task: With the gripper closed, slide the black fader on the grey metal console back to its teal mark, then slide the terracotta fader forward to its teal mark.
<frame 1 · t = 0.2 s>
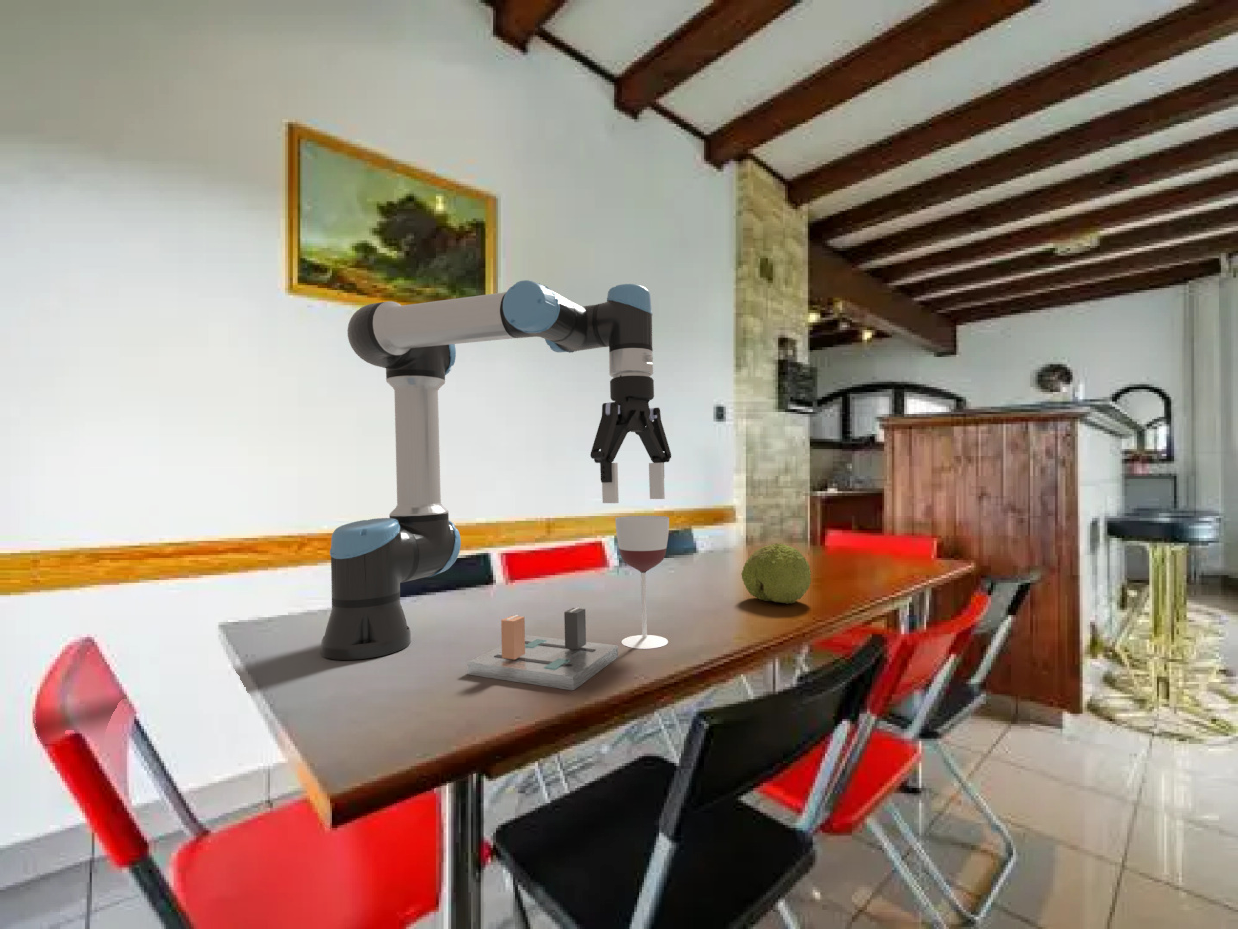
hand: (635, 501, 99), 27 cm above the table, fingers open, 13 cm apart
console: (545, 665, 95), on the table
wineglass: (644, 642, 107), on the table
fader black: (575, 627, 97), point 6 cm above the table, slide at 3.5 cm
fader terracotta: (513, 636, 92), point 6 cm above the table, slide at -3.5 cm
fruit: (777, 602, 137), on the table
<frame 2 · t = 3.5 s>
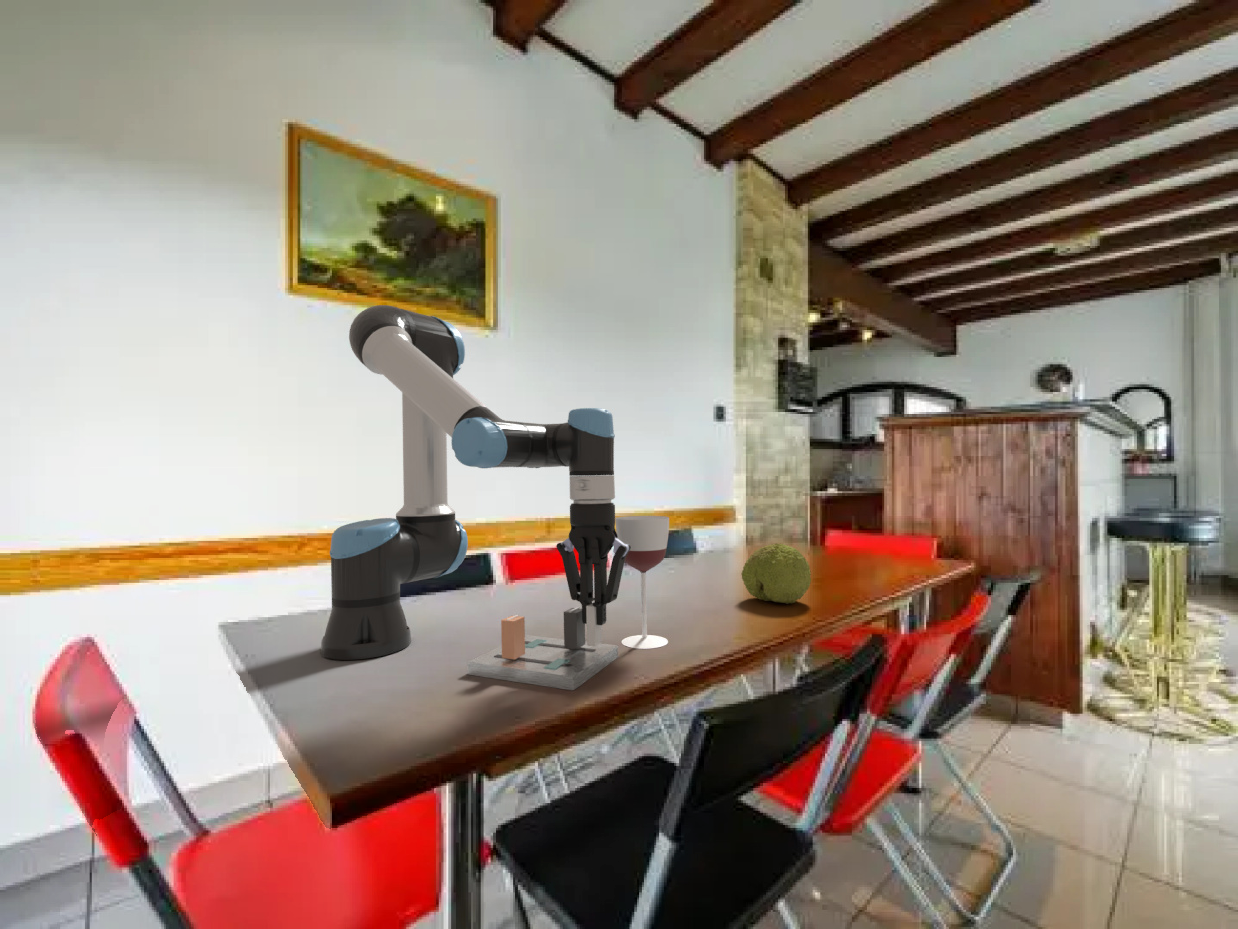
hand: (594, 643, 95), 3 cm above the table, fingers closed
fader black: (574, 627, 97), point 6 cm above the table, slide at 3.3 cm, touching gripper
everything else where it was.
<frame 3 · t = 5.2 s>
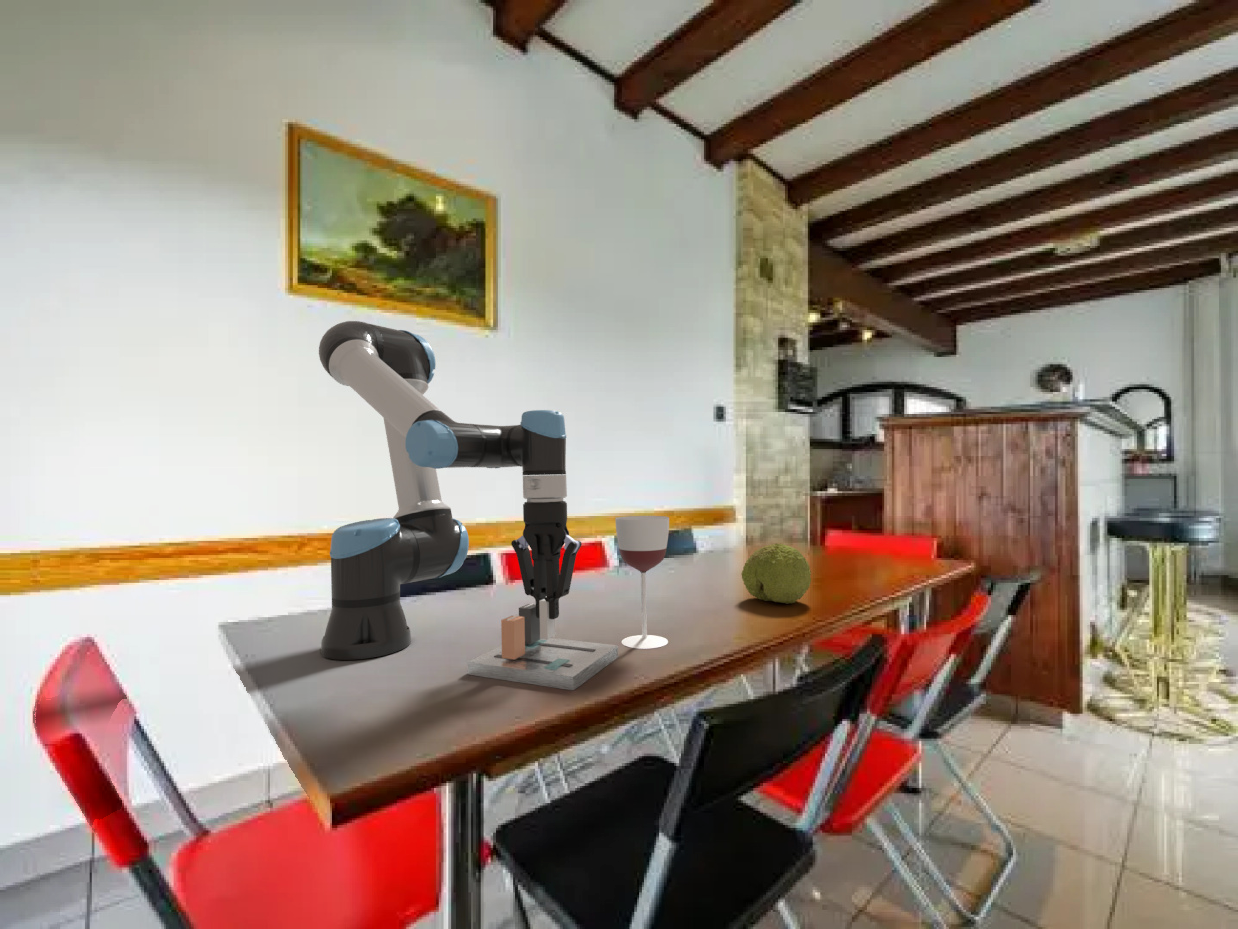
hand: (547, 637, 99), 3 cm above the table, fingers closed
fader black: (529, 623, 101), point 6 cm above the table, slide at -5.5 cm, touching gripper
everything else where it was.
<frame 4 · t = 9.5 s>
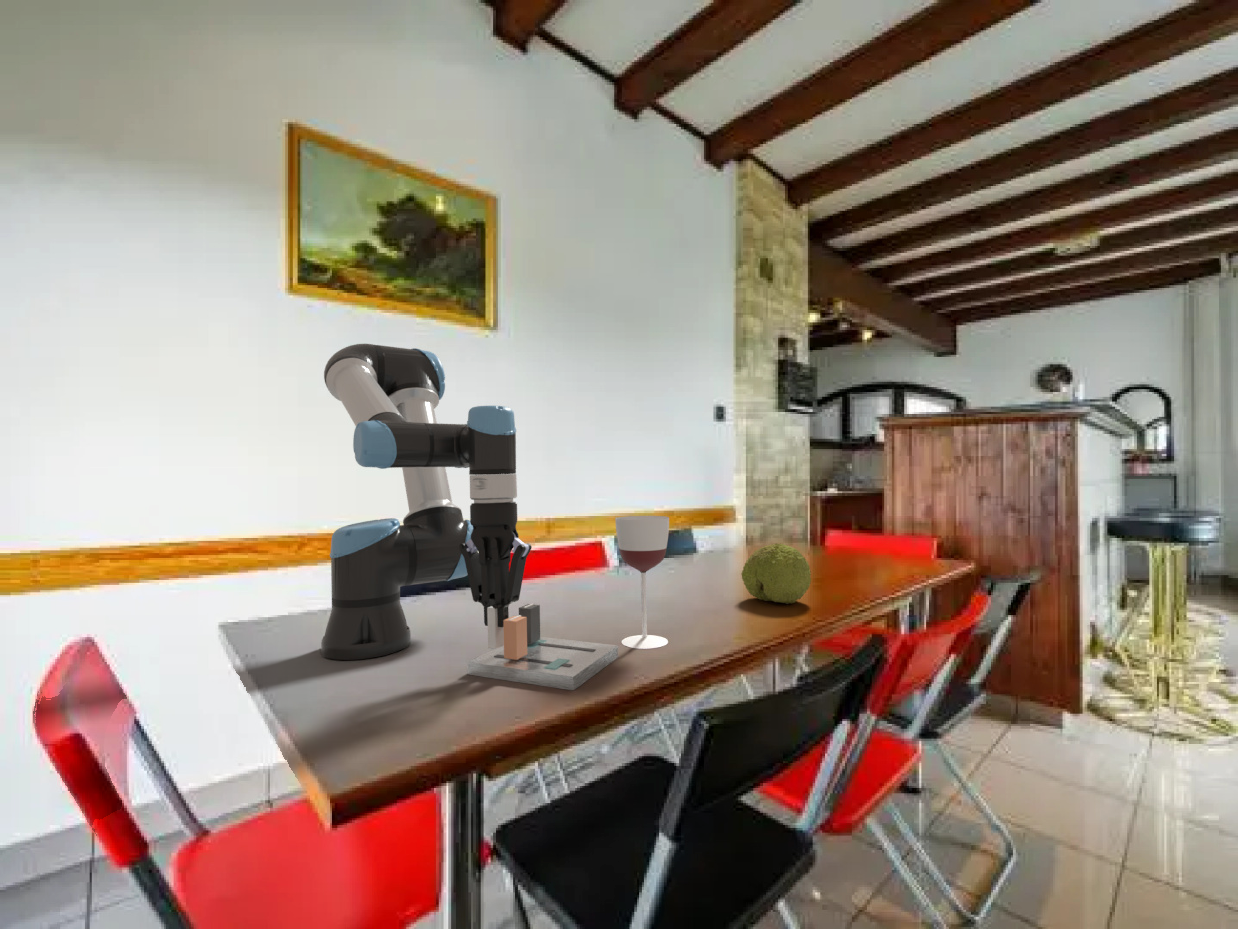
hand: (497, 646, 93), 4 cm above the table, fingers closed
fader black: (529, 623, 101), point 6 cm above the table, slide at -5.5 cm
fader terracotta: (515, 636, 92), point 6 cm above the table, slide at -3.1 cm, touching gripper
everything else where it was.
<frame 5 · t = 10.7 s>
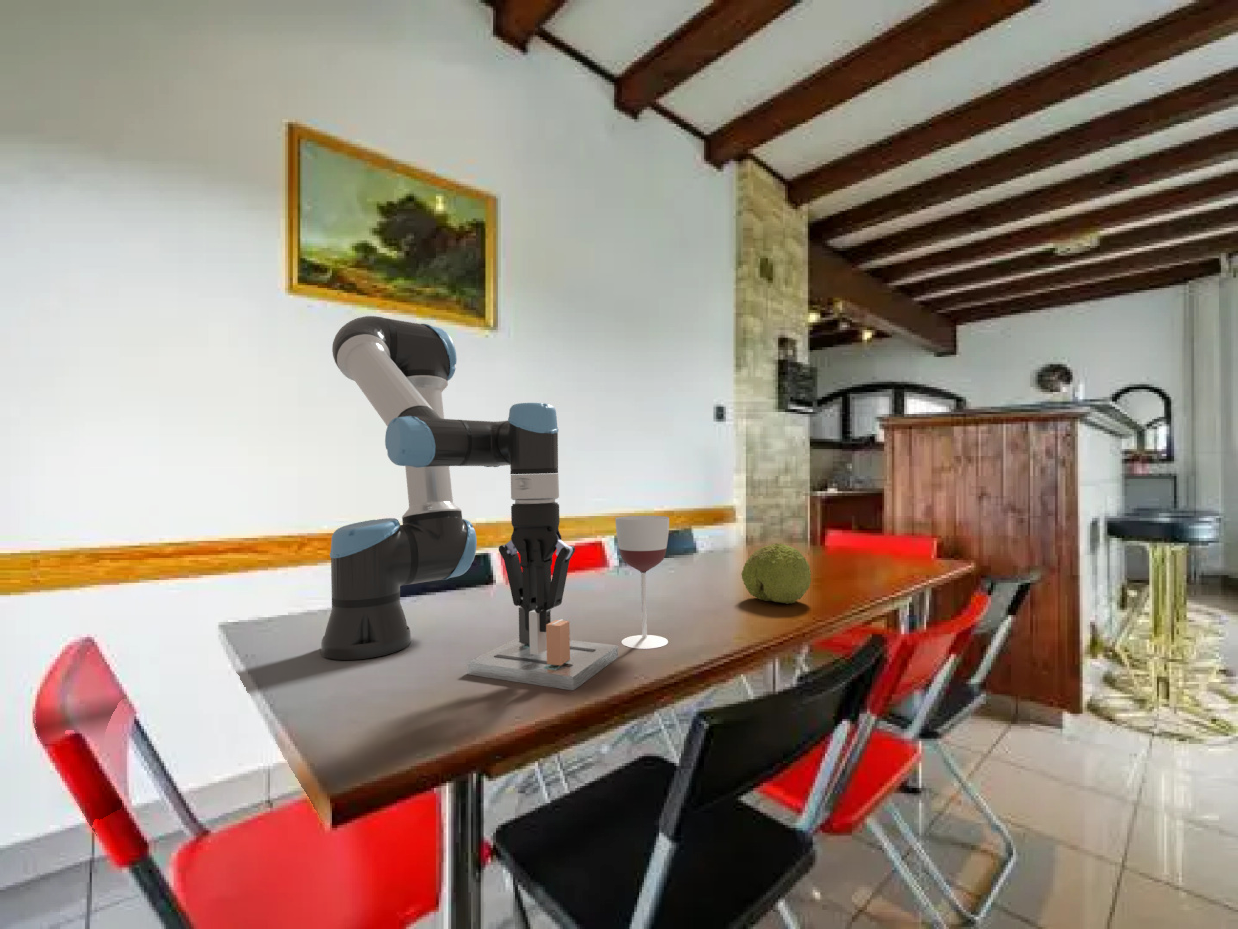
hand: (538, 651, 90), 4 cm above the table, fingers closed
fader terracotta: (558, 641, 89), point 6 cm above the table, slide at 4.8 cm, touching gripper
everything else where it was.
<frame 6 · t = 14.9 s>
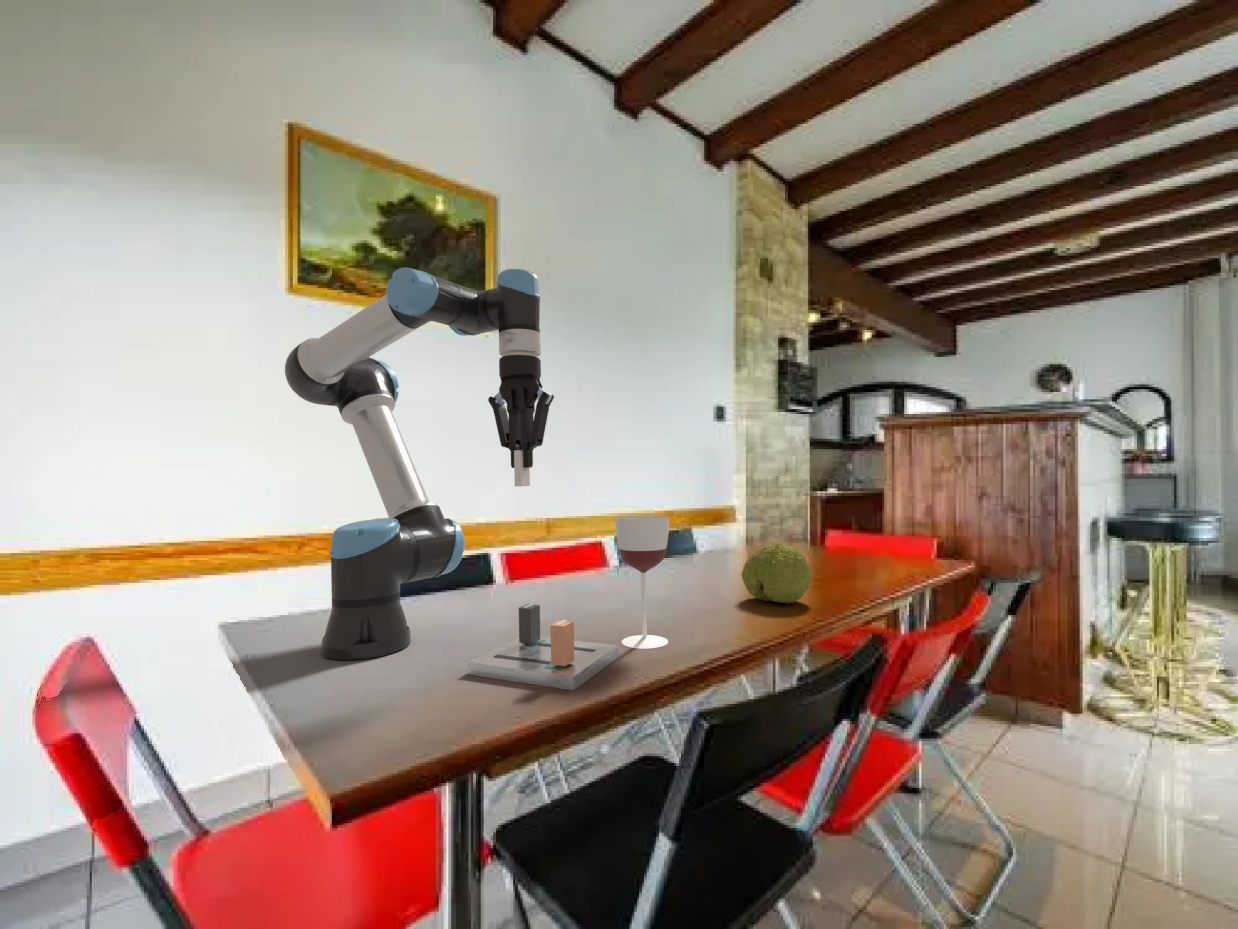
hand: (522, 486, 105), 29 cm above the table, fingers closed
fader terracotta: (562, 642, 89), point 6 cm above the table, slide at 5.5 cm
everything else where it was.
at the end: fader black slide at -5.5 cm; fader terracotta slide at 5.5 cm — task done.
